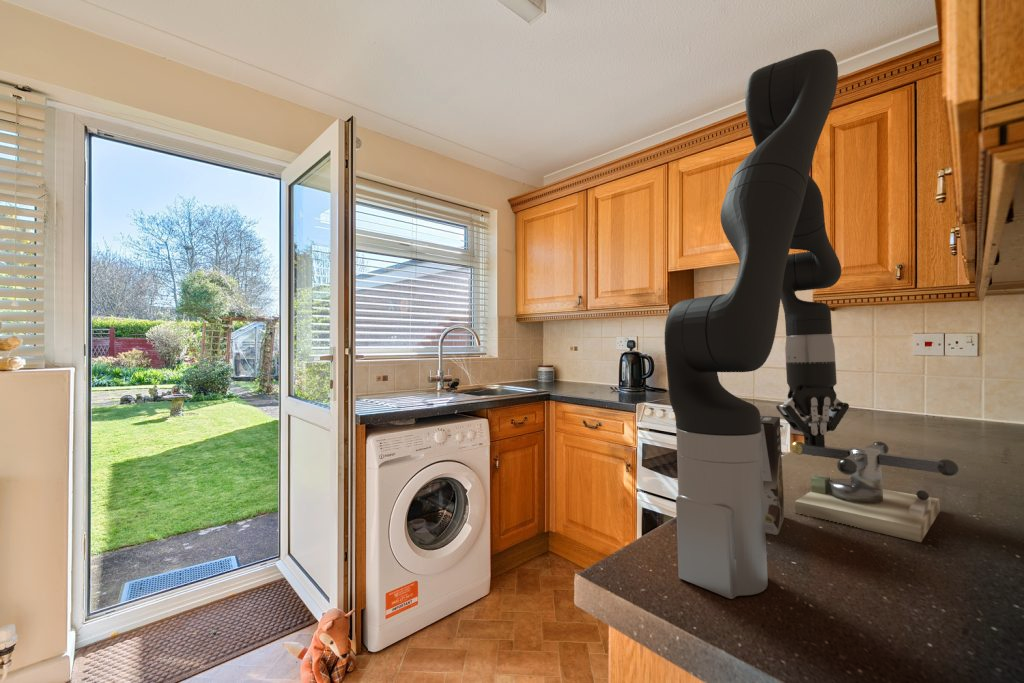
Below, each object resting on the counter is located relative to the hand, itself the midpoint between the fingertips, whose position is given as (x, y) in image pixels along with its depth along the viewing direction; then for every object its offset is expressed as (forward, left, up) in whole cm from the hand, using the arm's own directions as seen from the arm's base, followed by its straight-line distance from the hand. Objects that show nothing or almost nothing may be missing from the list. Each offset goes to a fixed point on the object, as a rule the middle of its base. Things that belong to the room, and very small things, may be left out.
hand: (815, 454), depth 79 cm
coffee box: (-20, +2, -8) cm, 22 cm away
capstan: (-3, -8, -5) cm, 10 cm away
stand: (-3, -8, -8) cm, 11 cm away
